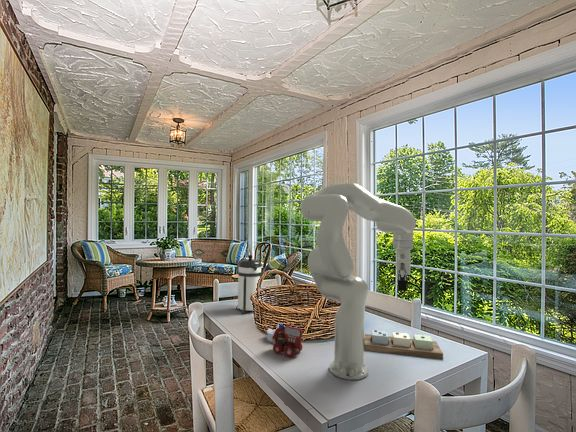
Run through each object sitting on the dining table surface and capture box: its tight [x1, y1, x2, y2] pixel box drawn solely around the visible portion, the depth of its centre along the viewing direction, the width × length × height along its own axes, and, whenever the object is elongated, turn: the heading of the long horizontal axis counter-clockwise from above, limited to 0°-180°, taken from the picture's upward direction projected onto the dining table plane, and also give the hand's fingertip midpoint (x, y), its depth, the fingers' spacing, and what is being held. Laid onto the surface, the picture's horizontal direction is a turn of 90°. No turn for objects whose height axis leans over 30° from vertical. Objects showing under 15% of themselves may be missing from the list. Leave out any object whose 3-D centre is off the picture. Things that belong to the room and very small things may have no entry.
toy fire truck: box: [271, 324, 303, 359], centre depth 119 cm, size 7×12×10 cm, turn 58°
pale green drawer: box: [412, 333, 433, 350], centre depth 124 cm, size 6×6×3 cm
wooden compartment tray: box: [364, 333, 444, 360], centre depth 126 cm, size 12×28×2 cm, turn 76°
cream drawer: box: [391, 331, 411, 347], centre depth 126 cm, size 6×6×3 cm
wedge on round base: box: [266, 323, 285, 343], centre depth 132 cm, size 9×7×13 cm
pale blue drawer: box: [371, 329, 389, 345], centre depth 128 cm, size 6×6×3 cm
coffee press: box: [235, 254, 263, 315], centre depth 173 cm, size 17×16×30 cm
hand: (402, 287), depth 127 cm, fingers open, 9 cm apart
